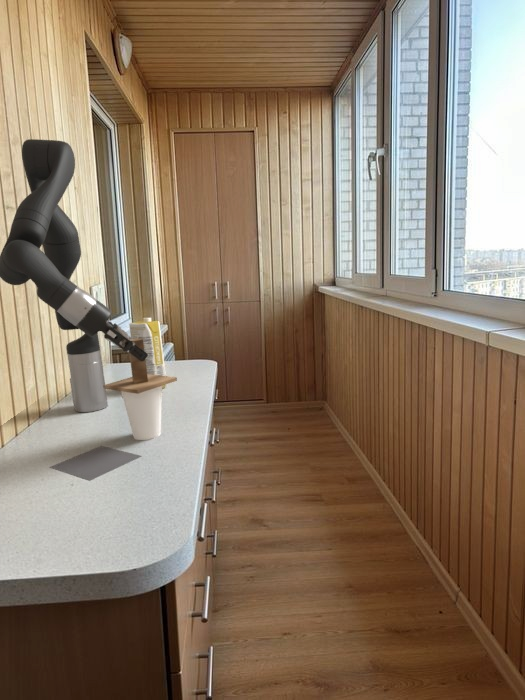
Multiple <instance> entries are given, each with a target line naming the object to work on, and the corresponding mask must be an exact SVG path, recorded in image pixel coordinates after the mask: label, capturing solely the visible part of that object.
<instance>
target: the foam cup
mask: <svg viewBox="0 0 525 700" xmlns="http://www.w3.org/2000/svg"><path fill="white" fill-rule="evenodd" d="M120 392H121V399H123V403H124V407H125V410H126V414H127V418H128V421H129V425H130V428H131V429H130V430H131V433H132V435H133V438H134V439H135V440H136V441H149V440H154V439H156V438H159V436H160V435H162V397H163V396H162V395H163V389H162V386H160V387H157V388H154V389H151V390H148V391H145V392H142V393H139V394H136V393H129V392H122V391H120Z"/></svg>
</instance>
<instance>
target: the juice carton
mask: <svg viewBox="0 0 525 700" xmlns="http://www.w3.org/2000/svg"><path fill="white" fill-rule="evenodd" d="M129 330H130V331H129V332H130V333H129V334H130V337H131V339H137V338H142V339H143V343H144V351H145V352H146V353H147V354H148V356H147V357H146V359H145V360H146V369H147V374H150V375H159V376H166V374H167V373H166V365H165V356H164V349H163V341H162V340H163V339H162V332H161V324H160V321H159V320H152V317H143V320H139V321H134V322H129ZM167 386H168V384H166V385H163V386H162V390H163V389H165V388H167Z"/></svg>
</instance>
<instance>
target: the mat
mask: <svg viewBox="0 0 525 700" xmlns="http://www.w3.org/2000/svg"><path fill="white" fill-rule="evenodd" d="M139 458H142V455H139V454H136V453H132V452H128V451H124V450H121V449H116V448H111V447H108V446H104V445H100V446H98V447H95V448H91V449H90V450H87V451H85V452H82V453H80V454H78V455H76V456H73V457H71V458H68V459H66V460H64V461H61V462H58V463H56V464H54V465H51V466H49V468H50V469H53V470H56V471H59V472H63V473H66V474H68V475H70V476H71V475H72V476H74V477H77V478H80V479H83V480H86V481H89V482H90V481H92V480H94V479H97V478H99V477H101V476H103V475H105V474H108V473H109V472H111V471H114V470H115V469H118V468H121V467H122V466H124V465H126V464H128V463H130V462H133V461H135V460H137V459H139Z"/></svg>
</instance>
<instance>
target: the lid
mask: <svg viewBox="0 0 525 700" xmlns="http://www.w3.org/2000/svg"><path fill="white" fill-rule="evenodd" d="M130 340H131V341H132V342H134V343H135V345H137V346H138V347H139V348H141V349H142V350H143V351H144V343H143V339H142V338H137V339H130ZM129 361H130V369H131V377H127V378H124V379H123V378H122V379H120V380H117V381H114V382H113V381H112V382H110V383H107V384H106V383H105V385H103V387H104V389H106V390H110V391H117V392H121V391H122V392H129V393H136V394H139V393H142V392H145V391H148V390H151V389H154V388H157V387H160V386H163V385H166V384H167V385H169V384H172V383H174V382H177V381H178V377H177V376H169V375H167V376H159V375H150V374H147V369H146V360H144V361H140V360H139V359H137V358H136V357H135V356H133V355H132V354H130V353H129Z"/></svg>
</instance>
